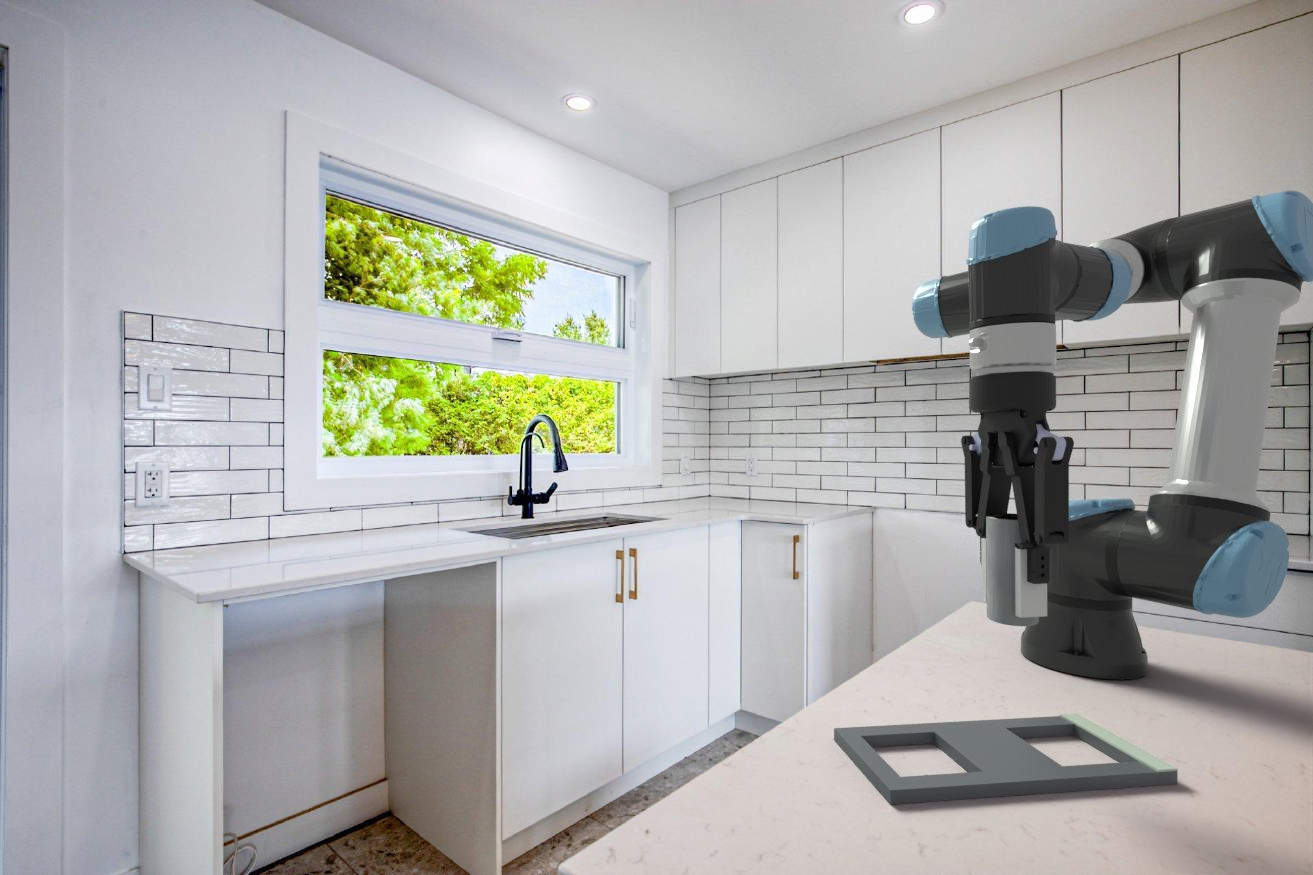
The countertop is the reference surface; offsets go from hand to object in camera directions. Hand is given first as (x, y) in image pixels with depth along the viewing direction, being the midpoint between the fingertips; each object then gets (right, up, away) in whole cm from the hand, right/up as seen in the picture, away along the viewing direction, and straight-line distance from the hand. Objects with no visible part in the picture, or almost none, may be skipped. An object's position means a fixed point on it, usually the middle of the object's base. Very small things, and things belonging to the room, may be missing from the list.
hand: (1013, 607), depth 65 cm
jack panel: (-2, -15, 0) cm, 15 cm away
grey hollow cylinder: (0, -1, 0) cm, 1 cm away
